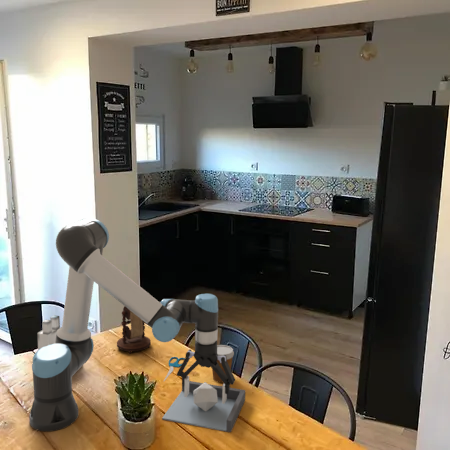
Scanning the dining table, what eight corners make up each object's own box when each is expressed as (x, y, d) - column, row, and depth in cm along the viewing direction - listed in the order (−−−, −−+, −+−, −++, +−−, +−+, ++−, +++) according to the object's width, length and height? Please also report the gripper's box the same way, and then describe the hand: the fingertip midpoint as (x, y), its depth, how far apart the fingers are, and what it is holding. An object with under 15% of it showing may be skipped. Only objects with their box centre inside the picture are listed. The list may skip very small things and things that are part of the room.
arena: (230, 432, 146) (231, 420, 146) (162, 419, 153) (162, 408, 152) (245, 400, 165) (245, 390, 164) (183, 389, 171) (183, 379, 170)
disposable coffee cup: (212, 386, 174) (212, 356, 172) (206, 374, 183) (207, 345, 181) (236, 383, 177) (237, 353, 175) (229, 371, 186) (230, 343, 184)
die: (200, 399, 165) (187, 384, 161) (221, 389, 164) (208, 374, 159) (202, 419, 158) (187, 403, 154) (224, 409, 157) (210, 393, 152)
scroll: (127, 357, 196) (127, 312, 192) (110, 346, 207) (109, 303, 203) (157, 348, 206) (156, 305, 202) (139, 337, 216) (138, 296, 213)
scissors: (187, 358, 195) (172, 381, 176) (187, 360, 196) (172, 384, 176) (171, 356, 197) (155, 379, 177) (171, 358, 197) (155, 382, 178)
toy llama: (77, 375, 180) (75, 326, 177) (39, 368, 185) (36, 321, 182) (88, 366, 187) (86, 319, 184) (50, 360, 192) (48, 314, 189)
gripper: (244, 340, 155) (243, 398, 159) (175, 331, 162) (175, 387, 166) (239, 349, 148) (237, 410, 152) (167, 339, 155) (167, 397, 159)
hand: (205, 398), depth 159 cm, fingers open, 13 cm apart
